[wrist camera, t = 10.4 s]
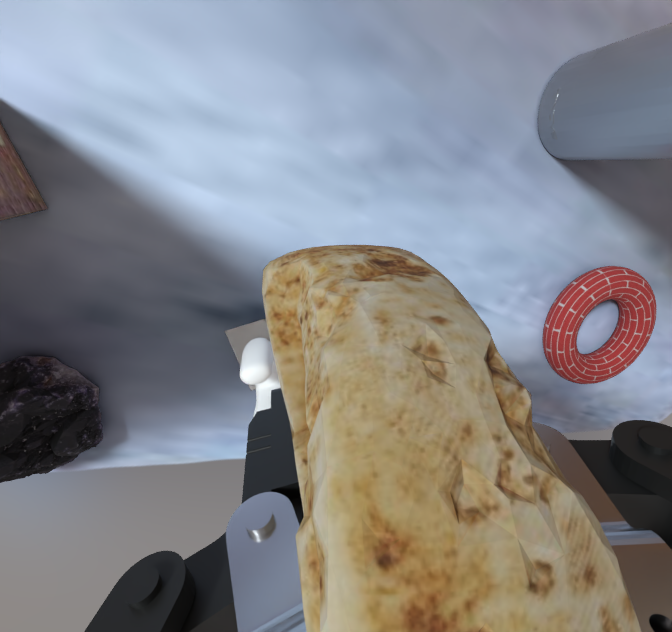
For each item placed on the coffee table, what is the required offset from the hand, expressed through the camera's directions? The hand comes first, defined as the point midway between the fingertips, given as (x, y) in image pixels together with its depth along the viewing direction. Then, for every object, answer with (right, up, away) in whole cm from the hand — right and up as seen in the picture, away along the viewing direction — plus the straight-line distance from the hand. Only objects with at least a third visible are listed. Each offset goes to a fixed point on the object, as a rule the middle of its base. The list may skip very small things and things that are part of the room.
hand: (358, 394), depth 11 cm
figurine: (-8, 0, +29) cm, 30 cm away
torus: (+32, +2, +36) cm, 48 cm away
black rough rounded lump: (-32, -7, +27) cm, 43 cm away
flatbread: (0, +1, +2) cm, 2 cm away
